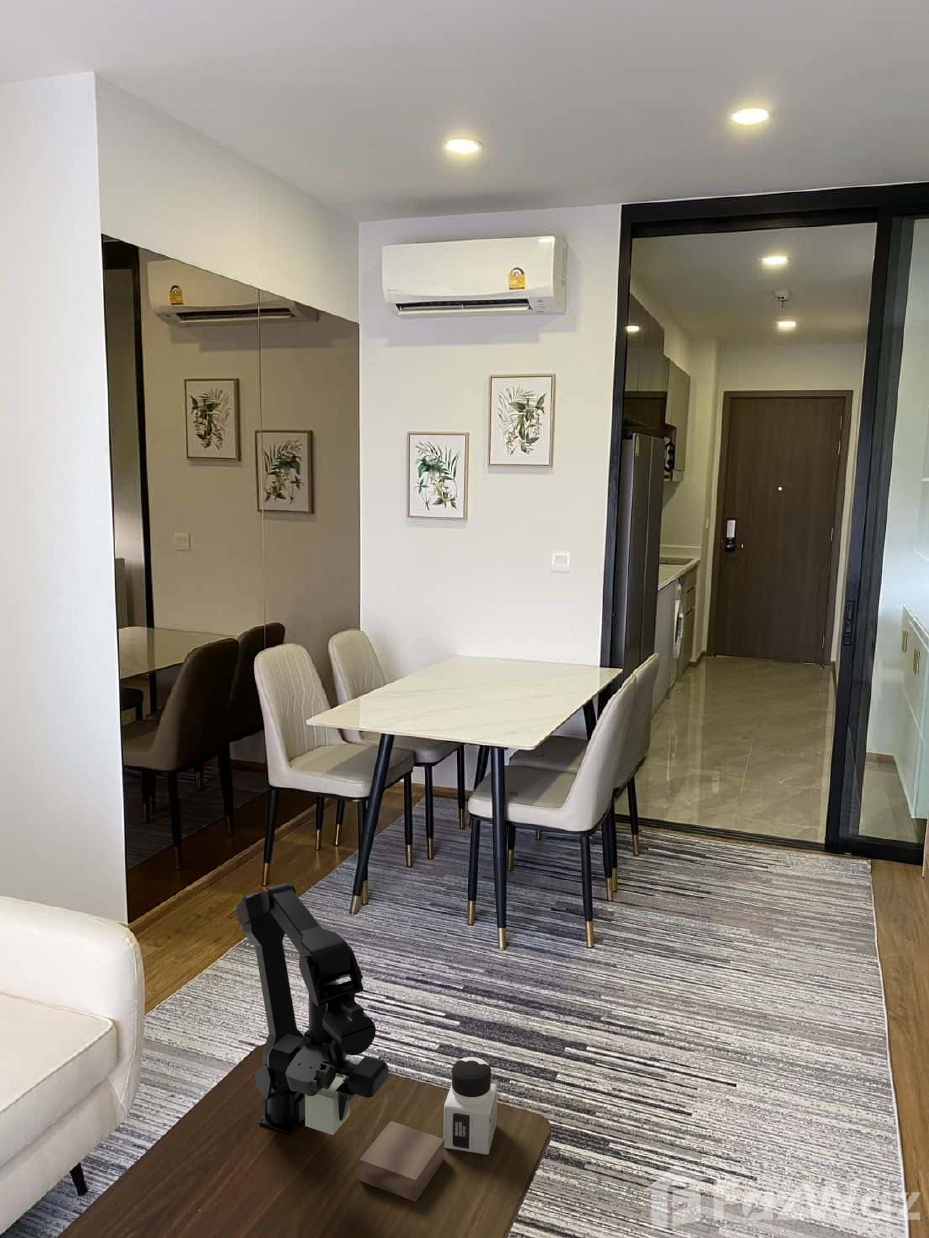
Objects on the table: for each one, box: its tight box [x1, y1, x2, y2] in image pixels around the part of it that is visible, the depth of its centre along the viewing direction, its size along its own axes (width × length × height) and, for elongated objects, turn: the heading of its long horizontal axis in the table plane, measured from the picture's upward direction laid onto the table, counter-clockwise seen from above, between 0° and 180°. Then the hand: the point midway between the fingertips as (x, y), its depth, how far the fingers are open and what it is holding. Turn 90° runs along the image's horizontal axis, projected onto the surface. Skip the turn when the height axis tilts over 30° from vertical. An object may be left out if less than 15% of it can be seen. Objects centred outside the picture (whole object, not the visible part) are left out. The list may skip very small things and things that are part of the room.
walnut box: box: [358, 1120, 445, 1202], centre depth 148 cm, size 10×10×4 cm
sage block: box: [304, 1075, 351, 1136], centre depth 144 cm, size 5×5×6 cm
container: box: [442, 1056, 498, 1156], centre depth 155 cm, size 8×8×13 cm
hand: (327, 1114), depth 144 cm, fingers closed on sage block, 5 cm apart
